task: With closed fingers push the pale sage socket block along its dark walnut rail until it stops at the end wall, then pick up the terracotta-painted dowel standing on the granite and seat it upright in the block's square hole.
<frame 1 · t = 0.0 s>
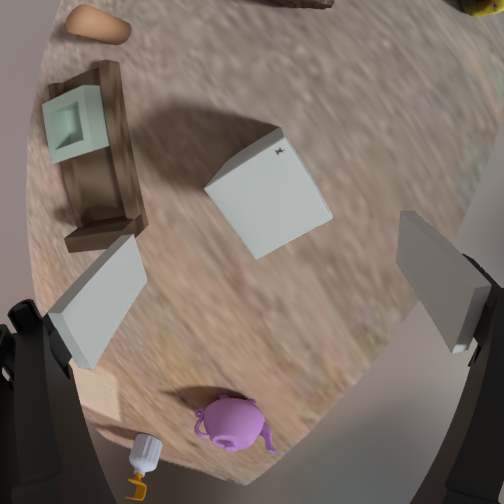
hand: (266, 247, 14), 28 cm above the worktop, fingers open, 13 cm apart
rail: (101, 151, 39), on the worktop
dowel: (119, 33, 31), on the worktop
socket block: (78, 123, 33), point 5 cm above the worktop, slide at 0.0 cm
teapot: (239, 405, 65), on the worktop
soap bottle: (149, 438, 79), on the worktop
supplement box: (270, 169, 40), on the worktop
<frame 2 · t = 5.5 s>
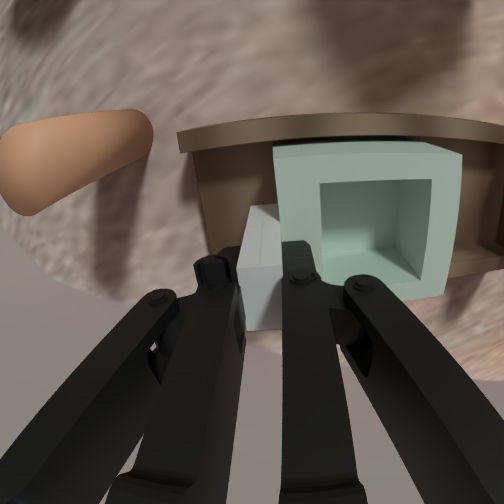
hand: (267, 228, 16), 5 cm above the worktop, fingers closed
rail: (388, 189, 19), on the worktop
dowel: (128, 135, 19), on the worktop
socket block: (361, 215, 16), point 5 cm above the worktop, slide at 1.5 cm, touching gripper
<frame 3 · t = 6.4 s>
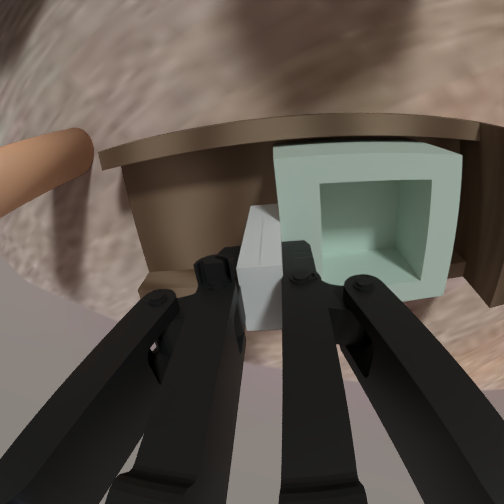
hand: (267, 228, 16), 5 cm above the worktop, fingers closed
rail: (318, 193, 20), on the worktop
dowel: (74, 152, 19), on the worktop
socket block: (361, 215, 16), point 5 cm above the worktop, slide at 6.8 cm, touching gripper
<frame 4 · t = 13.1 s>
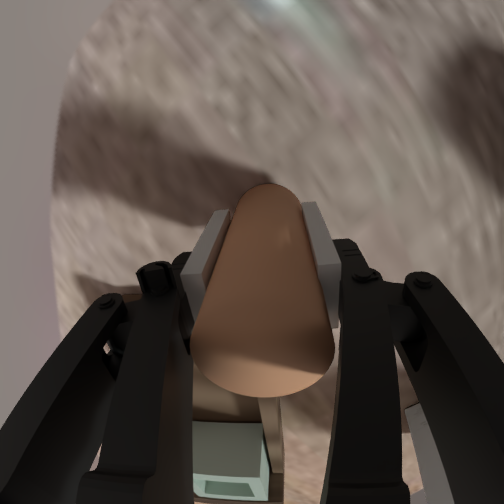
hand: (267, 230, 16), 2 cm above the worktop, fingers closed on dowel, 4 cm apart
rail: (222, 400, 26), on the worktop
dowel: (269, 216, 18), on the worktop, touching gripper
socket block: (227, 465, 25), point 5 cm above the worktop, slide at 10.9 cm
supplement box: (440, 406, 27), on the worktop
when the fingers open (9 cm above the worktop, at t = 17.4 s): dowel drops 2 cm, resting on socket block.
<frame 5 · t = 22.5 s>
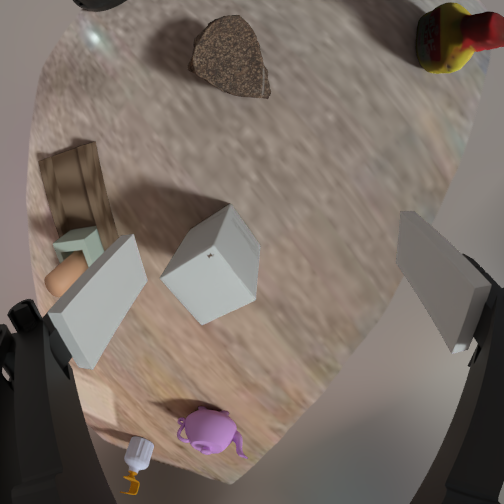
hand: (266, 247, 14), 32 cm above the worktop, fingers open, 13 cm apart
rail: (88, 216, 49), on the worktop
dowel: (87, 254, 48), point 4 cm above the worktop, touching socket block
socket block: (84, 257, 47), point 5 cm above the worktop, slide at 10.9 cm, touching dowel
teapot: (215, 415, 74), on the worktop
bottle: (426, 44, 31), on the worktop
rock: (232, 66, 37), on the worktop
soap bottle: (142, 441, 89), on the worktop
supplement box: (224, 238, 49), on the worktop
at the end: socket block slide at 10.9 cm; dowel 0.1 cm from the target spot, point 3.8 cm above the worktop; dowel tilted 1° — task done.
